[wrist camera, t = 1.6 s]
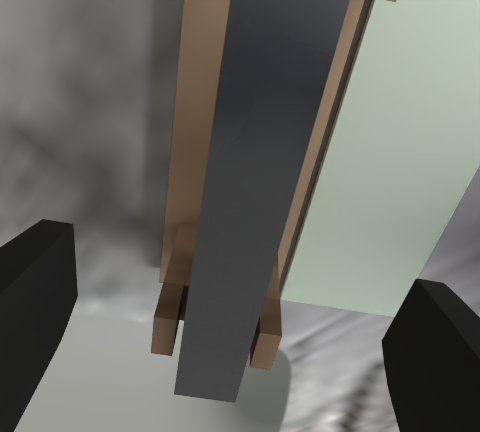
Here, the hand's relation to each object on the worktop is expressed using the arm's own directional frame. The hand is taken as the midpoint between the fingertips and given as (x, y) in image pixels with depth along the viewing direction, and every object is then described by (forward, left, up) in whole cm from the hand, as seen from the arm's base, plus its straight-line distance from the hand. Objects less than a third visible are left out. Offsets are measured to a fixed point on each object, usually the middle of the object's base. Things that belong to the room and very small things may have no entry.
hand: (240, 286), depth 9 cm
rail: (0, 0, -5) cm, 5 cm away
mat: (-7, 0, -10) cm, 12 cm away
